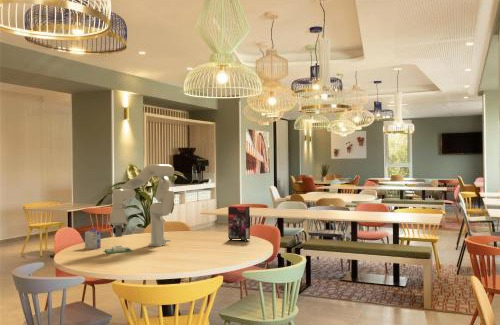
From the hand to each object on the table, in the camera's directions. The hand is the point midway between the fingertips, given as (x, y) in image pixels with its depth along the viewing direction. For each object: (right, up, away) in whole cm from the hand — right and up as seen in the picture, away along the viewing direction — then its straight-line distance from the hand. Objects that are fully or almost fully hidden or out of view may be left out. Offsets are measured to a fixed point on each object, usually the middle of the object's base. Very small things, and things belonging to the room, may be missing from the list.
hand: (117, 233), depth 310 cm
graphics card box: (+82, -13, +46) cm, 95 cm away
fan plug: (+1, -2, -1) cm, 3 cm away
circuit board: (0, -12, 0) cm, 12 cm away
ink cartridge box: (-22, -13, +13) cm, 29 cm away
